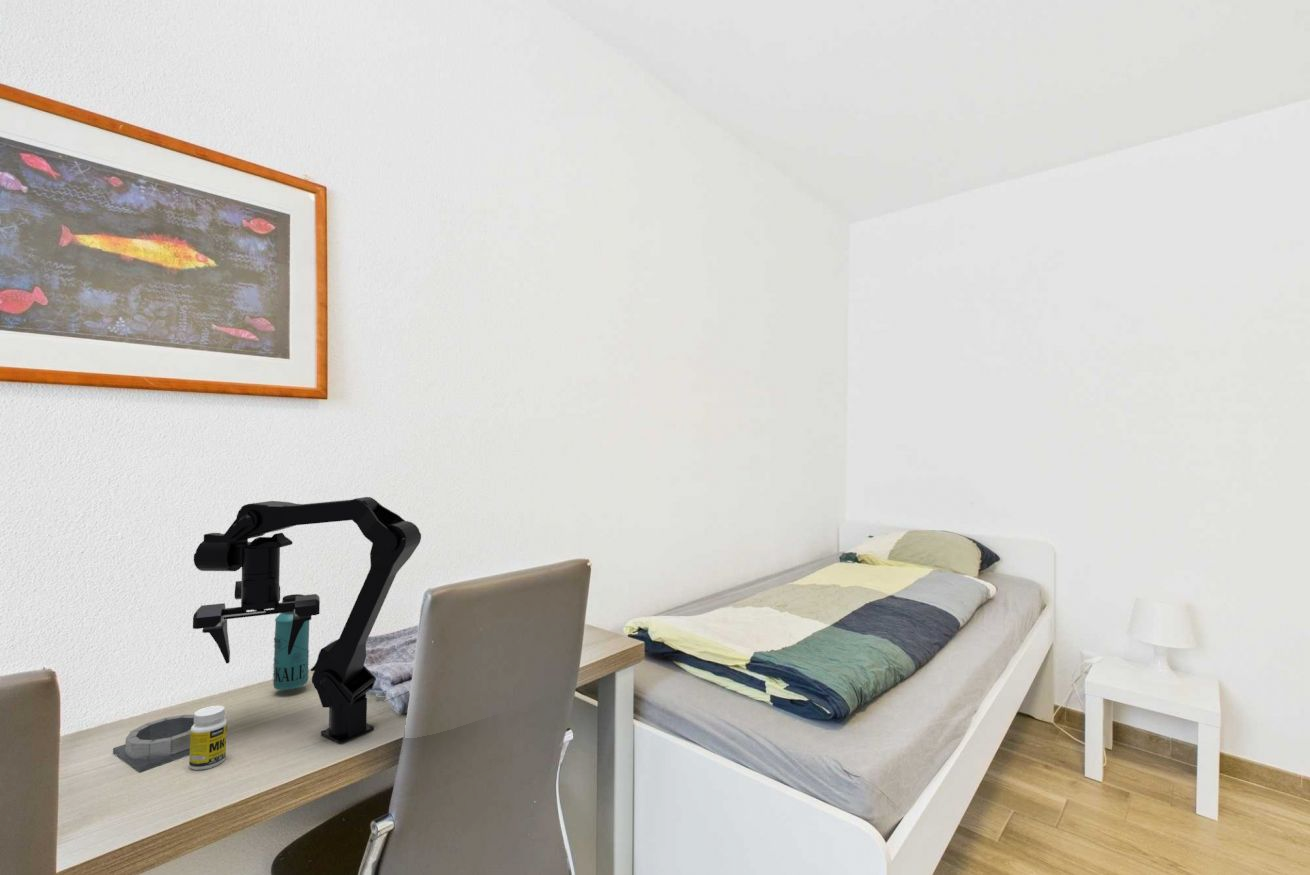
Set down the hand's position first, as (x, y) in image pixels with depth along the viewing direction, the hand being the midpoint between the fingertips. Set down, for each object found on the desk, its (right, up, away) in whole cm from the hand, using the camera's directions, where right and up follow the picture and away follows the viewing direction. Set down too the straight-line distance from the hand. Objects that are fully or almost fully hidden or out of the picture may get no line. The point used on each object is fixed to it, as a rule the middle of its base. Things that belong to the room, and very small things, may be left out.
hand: (259, 658), depth 107 cm
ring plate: (-11, -13, -7) cm, 18 cm away
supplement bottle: (-1, -13, -11) cm, 17 cm away
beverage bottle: (-5, -13, +17) cm, 22 cm away
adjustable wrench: (+22, -14, +24) cm, 35 cm away
